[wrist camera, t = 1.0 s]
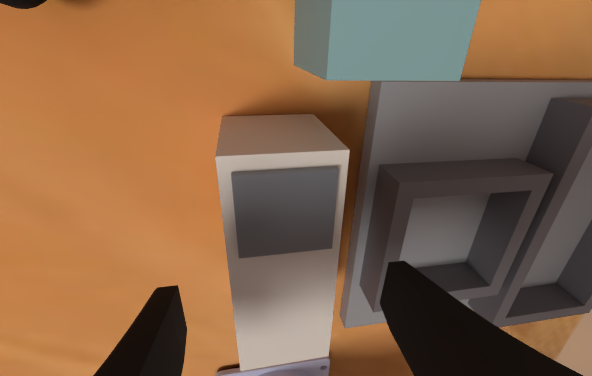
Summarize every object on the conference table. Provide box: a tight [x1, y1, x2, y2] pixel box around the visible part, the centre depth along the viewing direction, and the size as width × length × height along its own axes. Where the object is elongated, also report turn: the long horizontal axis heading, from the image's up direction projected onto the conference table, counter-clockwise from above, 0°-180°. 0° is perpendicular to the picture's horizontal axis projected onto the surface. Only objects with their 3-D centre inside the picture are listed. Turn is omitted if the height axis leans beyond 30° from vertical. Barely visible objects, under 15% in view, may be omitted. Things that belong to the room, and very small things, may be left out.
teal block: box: [294, 0, 481, 81], centre depth 9 cm, size 4×4×5 cm
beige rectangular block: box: [215, 114, 350, 371], centre depth 13 cm, size 10×4×5 cm, turn 179°
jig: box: [340, 79, 592, 328], centre depth 17 cm, size 15×17×3 cm
